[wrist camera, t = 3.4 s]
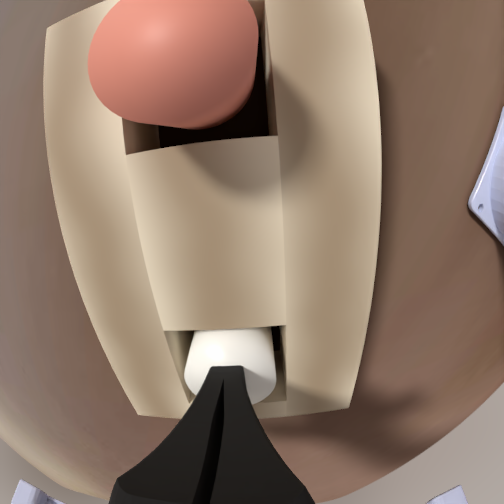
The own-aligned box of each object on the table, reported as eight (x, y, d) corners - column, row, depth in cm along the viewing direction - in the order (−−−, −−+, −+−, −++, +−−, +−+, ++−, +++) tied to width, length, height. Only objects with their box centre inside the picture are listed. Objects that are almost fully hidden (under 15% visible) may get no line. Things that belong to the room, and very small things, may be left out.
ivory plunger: (268, 288, 15) (274, 345, 11) (271, 345, 16) (277, 404, 12) (192, 293, 15) (174, 349, 11) (205, 349, 16) (194, 407, 12)
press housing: (330, 13, 9) (357, -23, 6) (333, 361, 17) (348, 407, 13) (90, 46, 10) (47, 28, 6) (153, 369, 17) (138, 414, 14)
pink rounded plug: (250, 27, 8) (250, -35, 4) (258, 123, 10) (266, 112, 5) (146, 43, 8) (91, 1, 4) (151, 137, 10) (91, 140, 5)
